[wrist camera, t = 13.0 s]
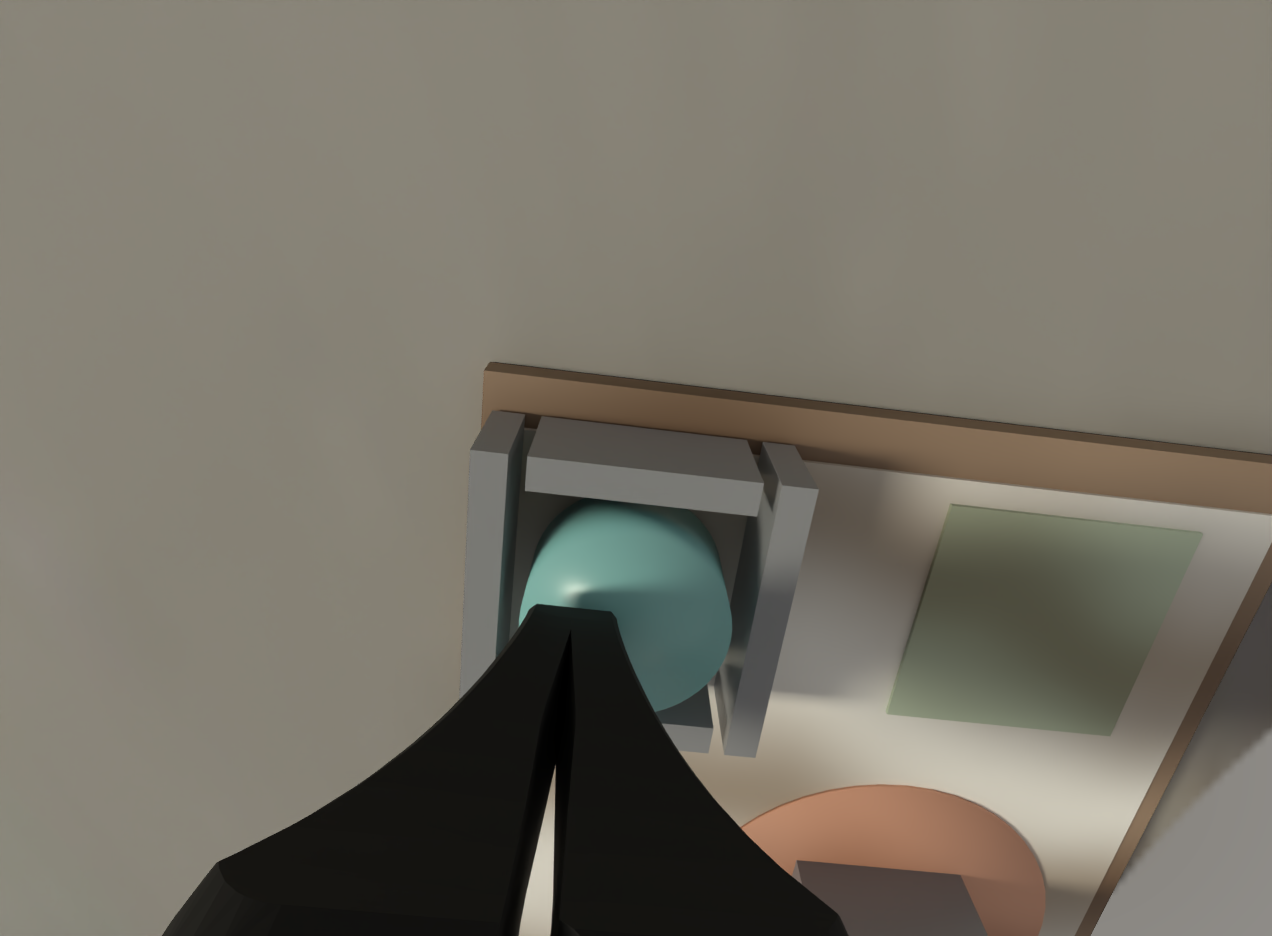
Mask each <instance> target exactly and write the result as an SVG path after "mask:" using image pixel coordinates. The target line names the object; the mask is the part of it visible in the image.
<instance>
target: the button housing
mask: <svg viewBox="0 0 1272 936" xmlns="http://www.w3.org/2000/svg"><path fill="white" fill-rule="evenodd" d="M524 424H525V414H519V413H510V412H502V411H493V410H492V412H491V413H490V415H489V417H488V419H487V421H486V422H485V424H484V426H483V428H482V430H481V431H480V433H479V435H478V437H477V439H476V440H475V442H474V444H473V446H472V447H471V449H470V465H469V488H468V512H467V535H466V558H465V581H464V605H463V628H462V651H461V674H460V697H459V699H460V698H461V697H462V696H463V695H464V694H465V693H466V692H467V691H468V690H469V689H470V688H471V687H472V686H473V685H474V684H475V682H476V681H477V680H478V679H479V678H480V677H481V676H482V675H483V673H484V672H485V671H486V670H487V669H488V667H489V666H490V665H491V664H492V662H493V661H494V660H495V659H496V657H497V656H498V655H499V654H500V653H501V651H502V650H503V649H504V647H505V646H506V645H507V643H508V642H509V634H510V620H511V606H512V592H513V578H514V564H515V550H516V536H517V522H518V508H519V494H520V480H521V466H522V452H523V438H524ZM525 491H531V492H540V493H549V494H558V495H567V496H576V497H585V498H594V499H603V500H612V501H621V502H630V503H639V504H648V505H657V506H666V507H675V508H684V509H693V510H702V511H711V512H720V513H729V514H738V515H747V516H748V518H747V523H746V528H745V533H744V538H743V543H742V548H741V553H740V558H739V563H738V568H737V573H736V578H735V583H734V588H733V593H732V598H731V603H730V610H731V616H732V635H731V642H730V645H729V649H728V652H727V655H726V657H725V659H724V661H723V663H722V665H721V667H720V668H719V670H718V671H717V673H716V678H715V683H714V691H715V698H716V704H717V711H718V718H719V724H720V731H721V738H722V744H723V751H724V755H729V756H739V757H750V758H756V753H757V749H758V745H759V741H760V737H761V732H762V728H763V724H764V720H765V715H766V711H767V707H768V703H769V698H770V694H771V690H772V686H773V682H774V677H775V673H776V669H777V665H778V660H779V656H780V652H781V648H782V644H783V639H784V635H785V631H786V627H787V622H788V618H789V614H790V610H791V606H792V601H793V597H794V593H795V589H796V584H797V580H798V576H799V572H800V567H801V563H802V559H803V555H804V551H805V546H806V542H807V538H808V534H809V529H810V525H811V521H812V517H813V513H814V508H815V504H816V500H817V496H818V491H819V489H818V487H817V485H816V483H815V482H814V480H813V478H812V476H811V474H810V472H809V471H808V469H807V467H806V465H805V463H804V462H803V460H802V458H801V456H800V454H799V453H798V451H797V449H796V447H795V446H794V445H785V444H777V443H768V442H763V443H762V448H761V453H760V458H759V463H758V467H757V464H756V462H755V459H754V457H753V454H752V452H751V449H750V447H749V444H748V442H747V440H742V439H734V438H725V437H717V436H708V435H699V434H691V433H682V432H674V431H665V430H657V429H648V428H639V427H631V426H622V425H614V424H605V423H596V422H588V421H579V420H571V419H562V418H553V417H545V416H542V417H541V419H540V422H539V425H538V428H537V431H536V433H535V436H534V439H533V442H532V445H531V447H530V450H529V453H528V456H527V467H526V480H525ZM655 713H656V715H657V716H658V718H659V720H660V721H661V723H662V725H663V727H664V728H665V730H666V732H667V733H668V735H669V737H670V738H671V740H672V741H673V743H674V745H675V746H676V748H677V749H678V751H687V752H697V753H709V748H710V743H711V738H712V734H713V729H714V728H713V721H712V714H711V706H710V699H709V692H708V685H707V684H706V685H705V686H704V687H703V688H702V689H701V690H700V691H698V692H697V693H695V694H694V695H693V696H691V697H690V698H688V699H686V700H684V701H683V702H681V703H679V704H677V705H674V706H672V707H669V708H667V709H664V710H660V711H657V712H655Z"/></svg>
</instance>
